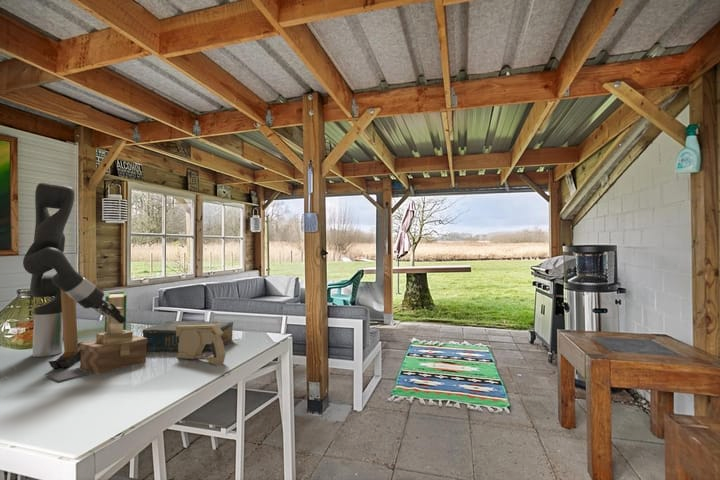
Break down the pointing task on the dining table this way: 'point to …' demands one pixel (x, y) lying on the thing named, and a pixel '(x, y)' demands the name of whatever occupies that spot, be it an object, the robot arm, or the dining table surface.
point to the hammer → (68, 334)
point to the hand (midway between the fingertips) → (120, 320)
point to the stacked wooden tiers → (112, 351)
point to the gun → (200, 342)
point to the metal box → (167, 341)
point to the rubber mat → (68, 374)
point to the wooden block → (114, 324)
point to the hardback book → (117, 303)
